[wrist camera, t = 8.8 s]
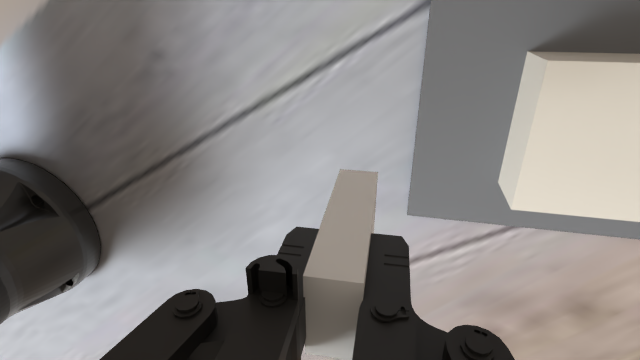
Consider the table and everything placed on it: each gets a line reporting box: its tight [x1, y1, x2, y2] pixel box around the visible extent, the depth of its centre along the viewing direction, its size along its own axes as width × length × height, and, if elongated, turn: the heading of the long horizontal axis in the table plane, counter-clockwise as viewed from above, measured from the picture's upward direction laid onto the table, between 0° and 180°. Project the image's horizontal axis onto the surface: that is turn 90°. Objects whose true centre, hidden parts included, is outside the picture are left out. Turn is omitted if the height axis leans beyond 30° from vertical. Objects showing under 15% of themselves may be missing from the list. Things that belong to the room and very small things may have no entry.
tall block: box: [498, 51, 640, 222], centre depth 22 cm, size 4×9×12 cm
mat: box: [407, 0, 640, 239], centre depth 24 cm, size 22×16×1 cm
